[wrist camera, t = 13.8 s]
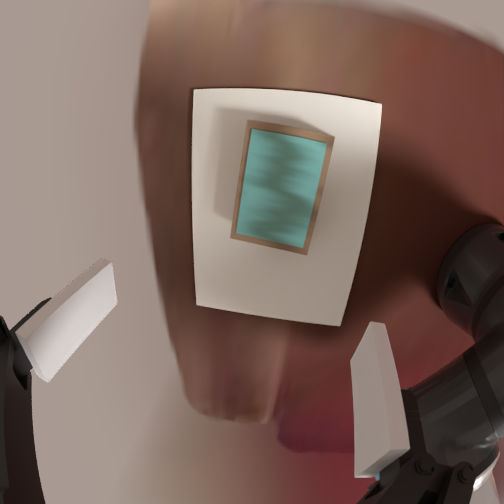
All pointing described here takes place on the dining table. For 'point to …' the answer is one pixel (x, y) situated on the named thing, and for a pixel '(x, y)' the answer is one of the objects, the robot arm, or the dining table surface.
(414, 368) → the dining table surface
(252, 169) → the walnut plaque
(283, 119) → the cream white flat board
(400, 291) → the dining table surface
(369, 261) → the dining table surface
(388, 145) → the dining table surface
